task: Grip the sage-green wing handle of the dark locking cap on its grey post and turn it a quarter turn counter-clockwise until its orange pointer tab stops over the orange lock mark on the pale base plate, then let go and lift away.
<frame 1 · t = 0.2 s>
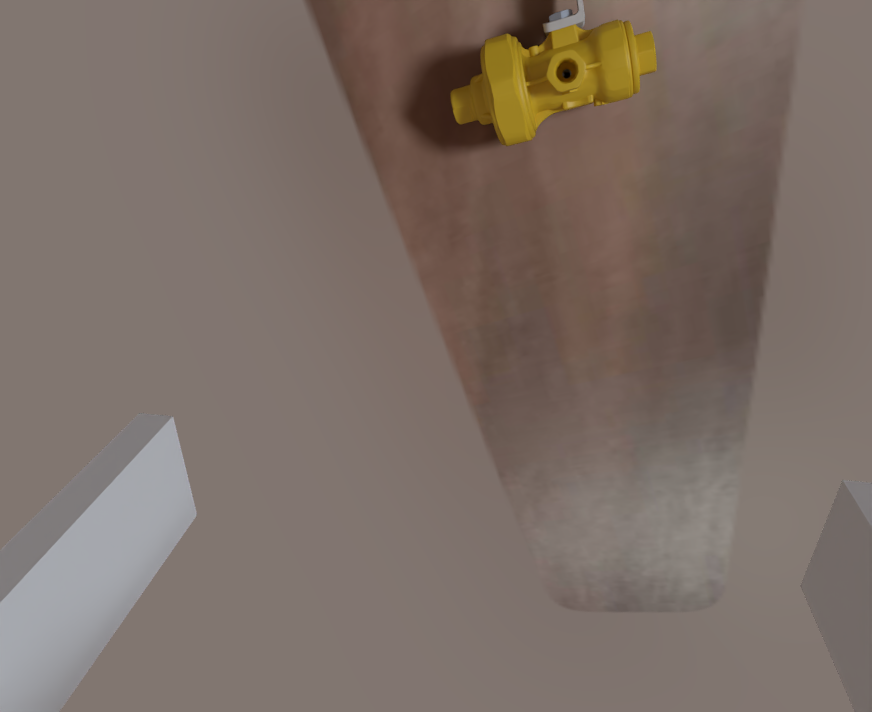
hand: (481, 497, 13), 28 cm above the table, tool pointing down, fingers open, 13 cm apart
pressure relief valve: (537, 9, 33), on the table
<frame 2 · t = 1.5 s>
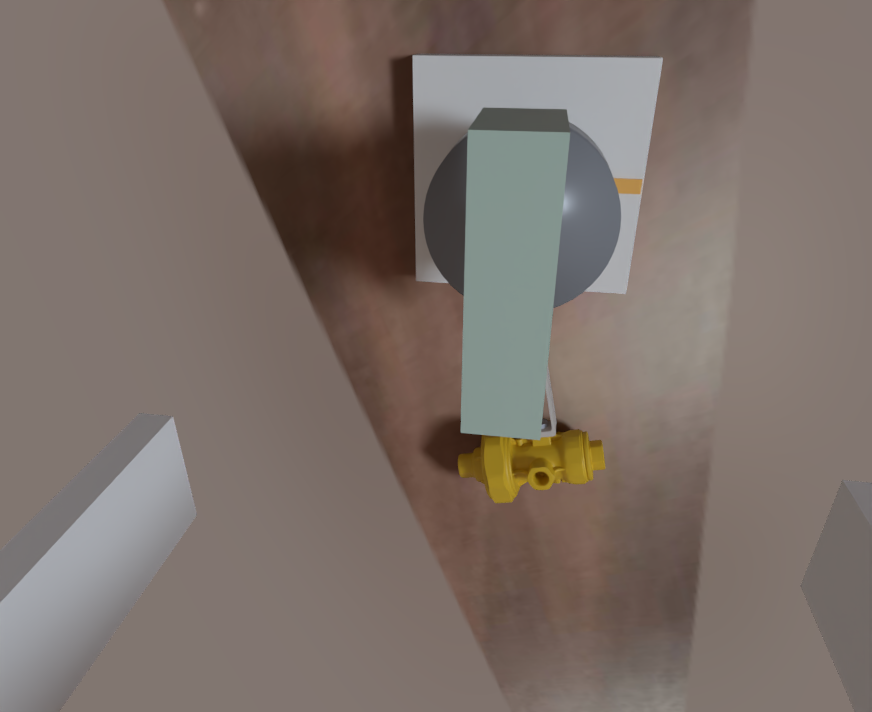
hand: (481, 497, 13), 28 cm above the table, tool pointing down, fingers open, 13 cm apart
locking cap: (516, 252, 27), point 13 cm above the table, hinge at 0.0°
pressure relief valve: (523, 397, 45), on the table
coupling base: (526, 175, 37), on the table
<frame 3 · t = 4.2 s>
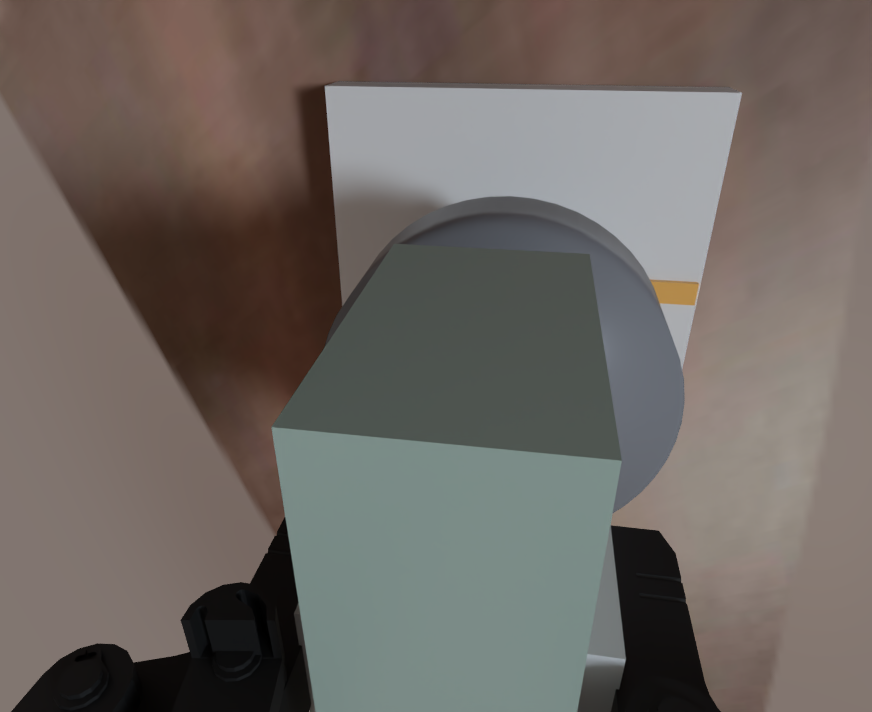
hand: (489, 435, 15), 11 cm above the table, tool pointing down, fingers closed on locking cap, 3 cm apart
locking cap: (482, 495, 13), point 13 cm above the table, hinge at 0.0°, touching gripper
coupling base: (514, 267, 24), on the table
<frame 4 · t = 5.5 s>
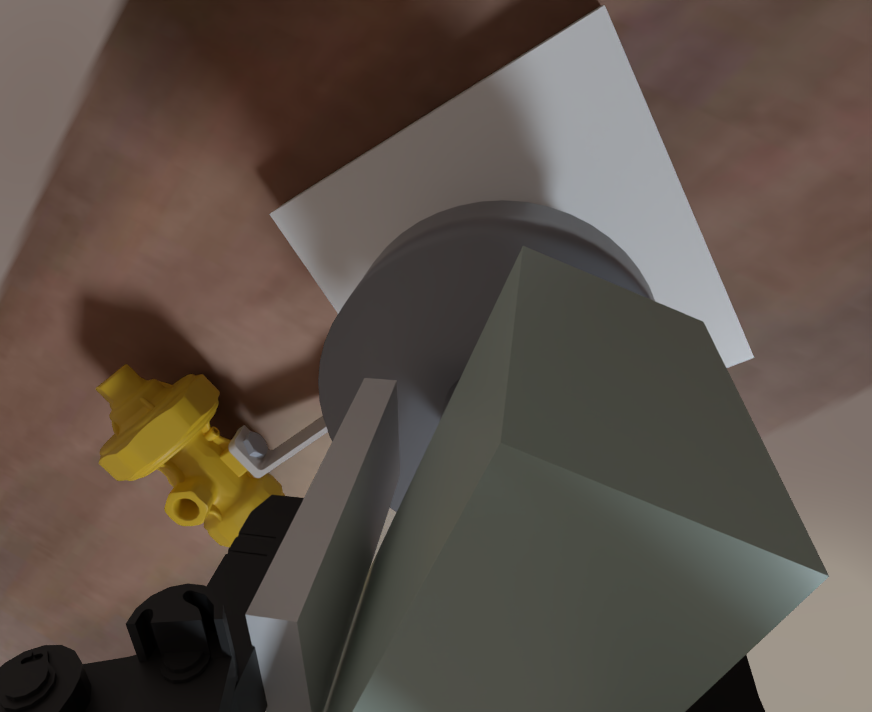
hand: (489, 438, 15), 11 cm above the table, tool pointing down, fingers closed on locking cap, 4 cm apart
locking cap: (475, 499, 13), point 13 cm above the table, hinge at 38.4°, touching gripper
pressure relief valve: (271, 390, 29), on the table
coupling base: (512, 270, 24), on the table
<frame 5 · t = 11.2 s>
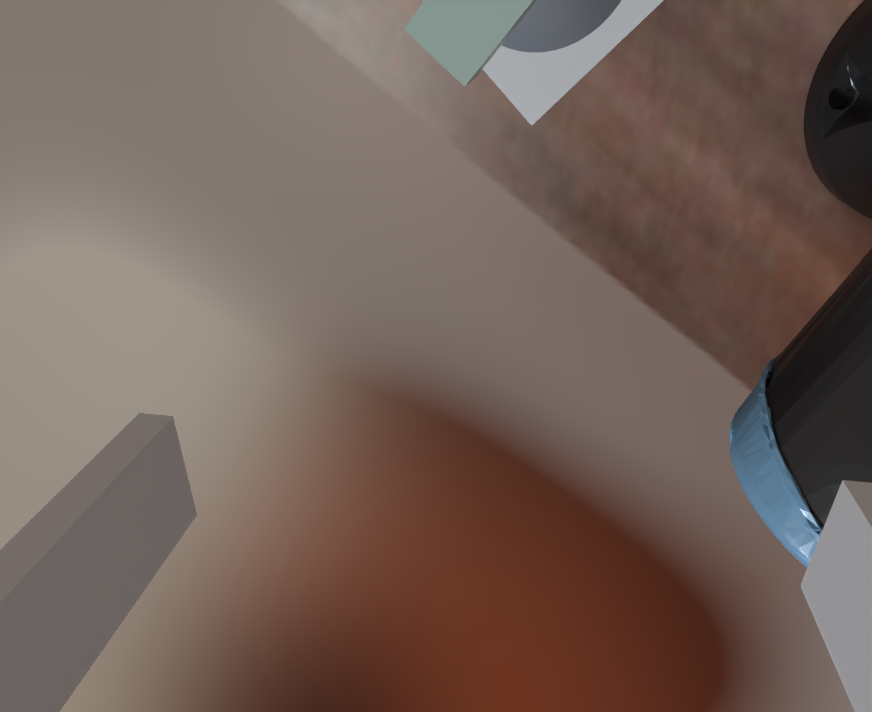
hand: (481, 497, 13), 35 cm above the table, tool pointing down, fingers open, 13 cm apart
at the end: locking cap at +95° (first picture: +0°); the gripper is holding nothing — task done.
